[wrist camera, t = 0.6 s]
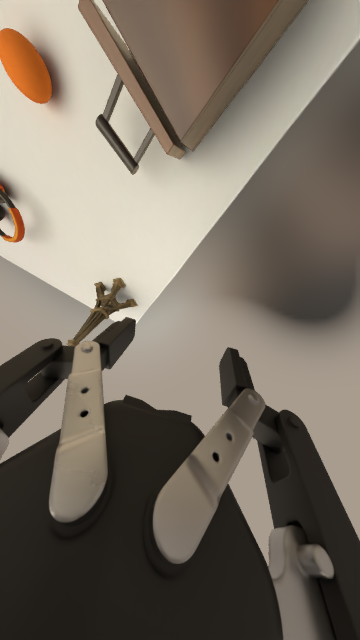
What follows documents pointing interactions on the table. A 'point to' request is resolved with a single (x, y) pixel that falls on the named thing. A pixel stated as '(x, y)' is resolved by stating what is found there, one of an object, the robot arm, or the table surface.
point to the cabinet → (200, 51)
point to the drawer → (137, 89)
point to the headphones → (2, 197)
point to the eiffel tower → (102, 309)
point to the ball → (25, 66)
